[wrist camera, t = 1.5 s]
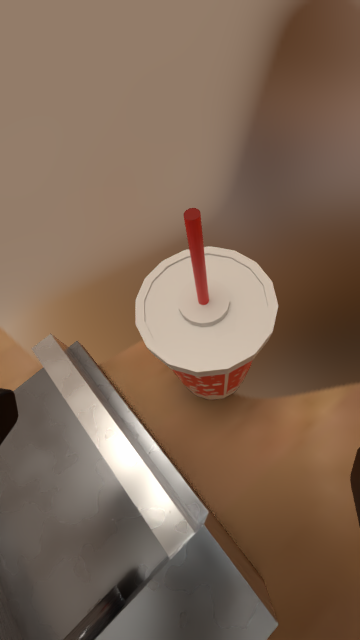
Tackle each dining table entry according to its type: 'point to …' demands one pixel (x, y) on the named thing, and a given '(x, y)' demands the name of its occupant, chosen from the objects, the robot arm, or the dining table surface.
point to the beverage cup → (206, 314)
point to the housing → (109, 524)
